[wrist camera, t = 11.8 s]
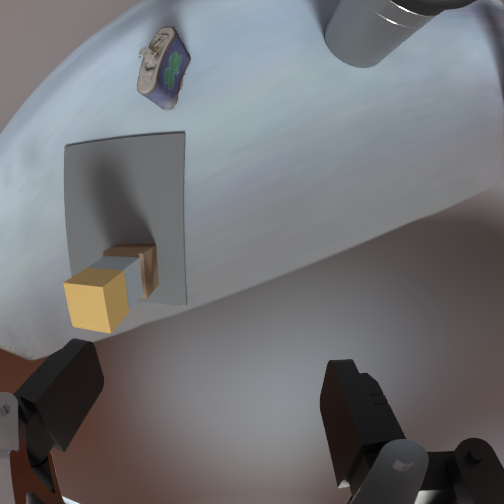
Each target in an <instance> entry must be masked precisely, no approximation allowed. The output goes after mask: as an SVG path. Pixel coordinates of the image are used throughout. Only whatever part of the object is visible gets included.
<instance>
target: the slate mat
mask: <svg viewBox="0 0 504 504" xmlns="http://www.w3.org/2000/svg"><path fill="white" fill-rule="evenodd" d="M184 161H185V133H180V134H163V135H150V136H138V137H128V138H120V139H111V140H104V141H97V142H90V143H84V144H78V145H72V146H67V147H65V150H64V201H65V219H66V231H67V242H68V251H69V259H70V266H71V273H72V277H73V276H75V275H77V274H78V273H80V272H81V271H83V270H85V269H86V268H87V267H88V266H90V265H92V264H93V263H95V262H97V261H98V260H100V259H102V258H103V251H105V250H107V249H109V248H111V247H113V246H114V245H116V244H118V243H136V244H156V247H157V264H158V278H159V285H158V286H157V288H156V289H155V290H154V291H153V292H152V293H151V295H150V296H149V297H148V298H140V299H139V300H138V301H139V302H150V303H162V304H175V305H187V294H186V274H185V245H184Z"/></svg>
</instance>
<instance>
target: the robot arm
mask: <svg viewBox="0 0 504 504" xmlns="http://www.w3.org/2000/svg"><path fill="white" fill-rule="evenodd" d="M474 1H476V0H340V1H339V3H338V5H337V7H336V9H335V11H334V13H333V15H332V16H331V18H330V20H329V22H328V24H327V27H326V29H325V41H326V44H327V46H328V47H329V49H330V50H331V52H332V53H333V54H334V55H335V56H336V57H337V58H339V59H340V60H342V61H343V62H345V63H347V64H349V65H352V66H355V67H361V68H366V67H371V66H374V65H376V64H377V63H379V62H380V61H381V60H382V59H383V58H385V57H386V56H387V55H388V54H390V53H391V52H392V51H393V50H394V49H396V48H397V47H398V46H399V45H400V44H402V43H403V42H404V41H405V40H406V39H408V38H409V37H410V36H411V35H413V34H414V33H415V32H416V31H418V30H419V29H420V28H421V27H423V26H424V25H425V24H426V23H428V22H429V21H430V20H431V19H433V18H434V17H435V16H437V15H438V14H440V13H441V12H442V11H444V10H448V9H457V8H462V7H464V6H467V5H469V4H471V3H472V2H474ZM103 386H104V376H103V373H102V369H101V366H100V363H99V360H98V355H97V352H96V348H95V346H94V344H93V343H92V342H90V341H85V340H80V339H75V338H74V339H72V340H70V341H69V342H68V343H67V344H66V345H65V346H64V347H63V349H60V350H58V351H57V352H55V353H53V354H51V355H50V356H49V357H48V358H47V359H46V360H45V361H44V362H43V365H40V366H39V367H38V368H37V371H35V372H34V373H33V374H32V375H31V376H30V377H29V378H28V379H27V380H26V381H25V382H24V383H23V384H22V385H21V387H20V388H19V389H18V390H17V391H16V392H15V393H14V394H13V395H12V394H10V393H6V392H2V393H0V504H65V502H64V500H63V498H62V495H61V491H60V488H59V484H58V480H57V476H56V472H55V467H54V462H53V457H52V455H51V453H50V450H51V449H52V447H54V448H56V449H58V450H60V451H63V452H65V451H66V449H67V447H68V446H69V444H70V442H71V440H72V439H73V437H74V435H75V433H76V432H77V430H78V429H79V427H80V425H81V424H82V422H83V420H84V419H85V417H86V416H87V414H88V412H89V411H90V409H91V407H92V406H93V404H94V403H95V401H96V400H97V398H98V396H99V394H100V393H101V391H102V389H103ZM320 411H321V416H322V420H323V424H324V428H325V432H326V437H327V441H328V445H329V450H330V454H331V459H332V463H333V467H334V472H335V477H336V481H337V486H338V488H342V487H348V486H350V490H351V494H352V495H351V496H350V498H349V499H348V501H347V502H346V504H504V468H503V466H502V465H501V463H500V461H499V459H498V457H497V456H496V454H495V452H494V450H493V449H492V447H491V446H490V445H489V444H488V443H487V442H486V441H484V440H482V439H478V438H469V439H466V440H464V441H462V442H461V443H460V444H459V445H458V446H457V448H456V449H455V450H454V451H446V452H427V451H426V450H425V448H424V447H423V446H422V445H420V444H419V443H417V442H415V441H412V440H408V439H406V438H405V436H404V433H403V432H402V430H401V427H400V425H399V423H398V421H397V419H396V417H395V415H394V413H393V411H392V409H391V407H390V405H389V404H388V402H387V399H386V397H385V395H383V392H382V390H381V388H380V386H379V384H378V382H377V381H376V380H375V379H373V378H372V377H371V376H370V375H369V374H368V373H359V372H358V369H357V368H356V365H355V363H354V361H353V360H352V359H347V360H330V361H329V362H328V364H327V368H326V373H325V377H324V382H323V386H322V390H321V395H320Z"/></svg>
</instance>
